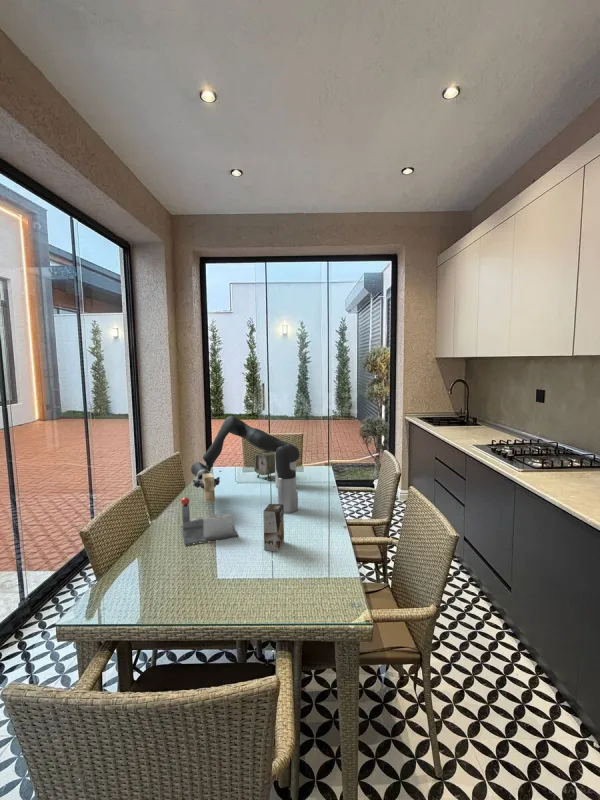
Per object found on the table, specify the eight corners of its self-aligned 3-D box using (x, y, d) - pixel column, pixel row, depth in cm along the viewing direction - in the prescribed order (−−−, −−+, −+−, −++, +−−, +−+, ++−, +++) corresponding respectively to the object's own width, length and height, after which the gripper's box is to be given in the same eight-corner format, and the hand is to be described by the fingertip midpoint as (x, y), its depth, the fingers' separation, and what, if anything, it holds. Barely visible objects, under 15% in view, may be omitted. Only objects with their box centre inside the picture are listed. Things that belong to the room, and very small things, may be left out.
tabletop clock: (254, 477, 259) (253, 440, 257) (265, 474, 265) (264, 438, 263) (267, 482, 249) (266, 443, 247) (278, 479, 255) (277, 441, 253)
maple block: (212, 496, 197) (211, 472, 196) (214, 501, 189) (213, 476, 188) (203, 497, 195) (202, 474, 194) (205, 502, 188) (204, 478, 187)
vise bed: (229, 520, 187) (228, 501, 186) (238, 537, 168) (237, 516, 167) (181, 527, 179) (180, 508, 178) (184, 545, 160) (183, 524, 159)
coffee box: (279, 551, 154) (278, 511, 153) (263, 550, 155) (262, 510, 154) (284, 541, 163) (284, 503, 162) (269, 540, 164) (269, 502, 163)
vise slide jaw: (228, 519, 185) (227, 491, 184) (230, 521, 182) (229, 493, 181) (181, 526, 178) (180, 496, 177) (182, 529, 174) (181, 499, 173)
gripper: (190, 472, 203) (193, 480, 187) (217, 469, 208) (223, 476, 192) (190, 486, 204) (194, 495, 188) (218, 482, 209) (224, 491, 193)
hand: (209, 486), depth 190 cm, fingers closed on maple block, 4 cm apart
